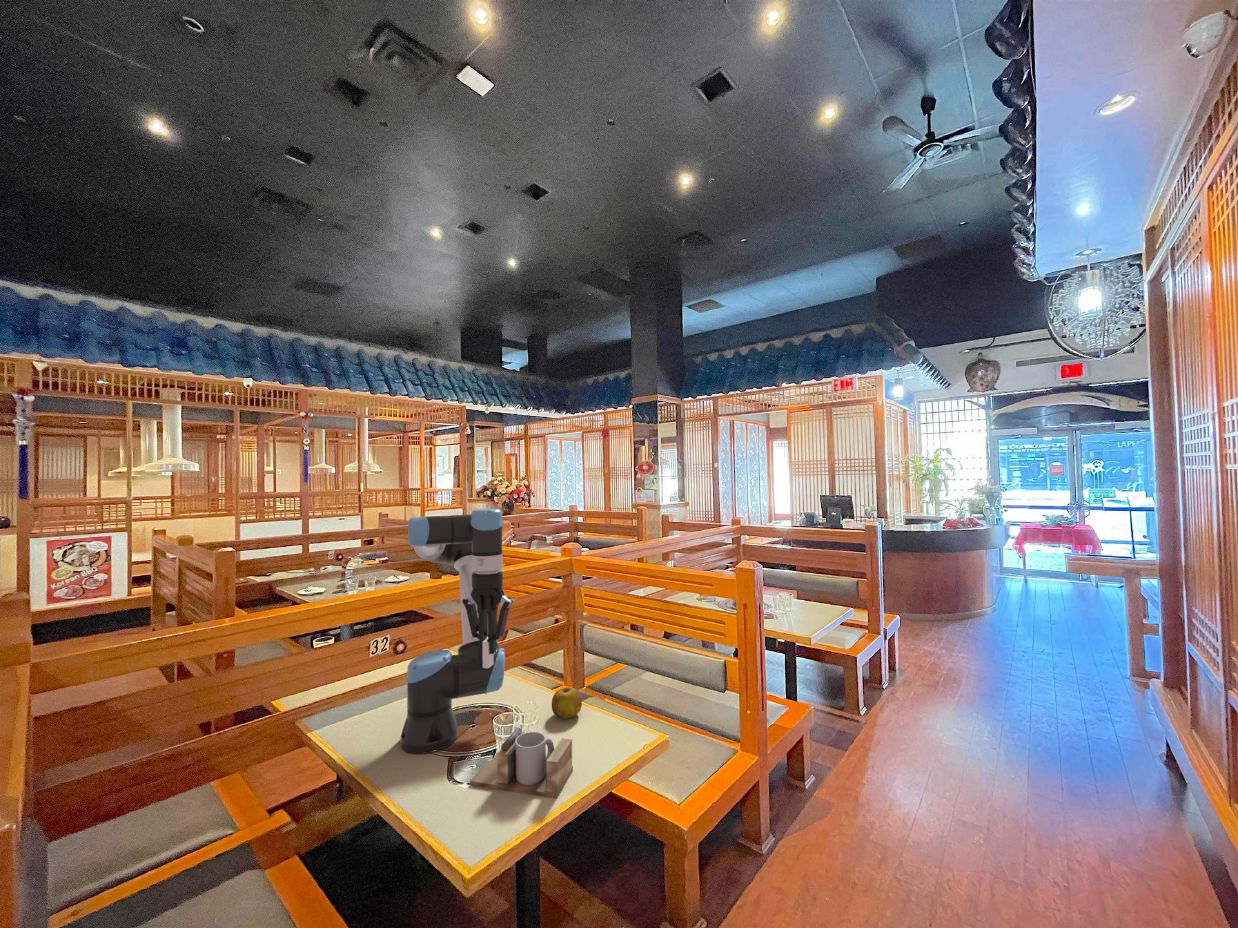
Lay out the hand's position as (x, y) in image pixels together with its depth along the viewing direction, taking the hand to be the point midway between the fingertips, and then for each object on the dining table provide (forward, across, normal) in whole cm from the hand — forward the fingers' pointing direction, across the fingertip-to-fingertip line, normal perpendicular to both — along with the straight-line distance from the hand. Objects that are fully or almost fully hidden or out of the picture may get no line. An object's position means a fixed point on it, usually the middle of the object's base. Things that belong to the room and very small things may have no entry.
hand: (488, 665), depth 125 cm
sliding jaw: (+25, +6, 0) cm, 26 cm away
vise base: (+26, +9, 0) cm, 28 cm away
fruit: (+27, +9, +32) cm, 42 cm away
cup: (+26, +12, 0) cm, 28 cm away
